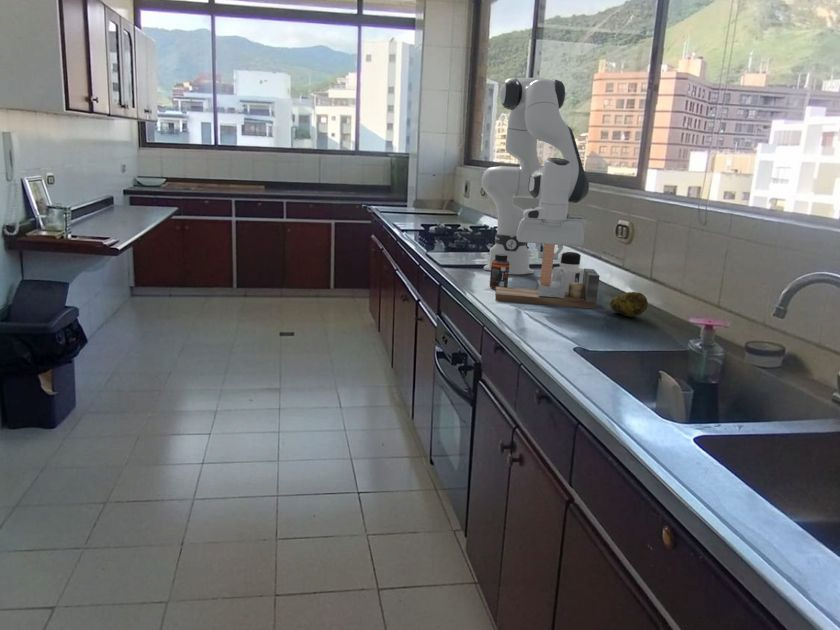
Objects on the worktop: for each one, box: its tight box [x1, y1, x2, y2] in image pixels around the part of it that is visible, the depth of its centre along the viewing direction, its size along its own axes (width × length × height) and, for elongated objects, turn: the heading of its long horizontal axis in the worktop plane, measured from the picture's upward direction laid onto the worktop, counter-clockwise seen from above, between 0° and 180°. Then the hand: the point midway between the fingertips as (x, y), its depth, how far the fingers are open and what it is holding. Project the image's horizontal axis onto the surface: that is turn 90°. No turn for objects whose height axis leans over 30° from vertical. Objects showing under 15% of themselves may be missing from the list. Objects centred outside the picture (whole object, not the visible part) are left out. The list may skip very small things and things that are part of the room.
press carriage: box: [536, 244, 567, 299], centre depth 207 cm, size 12×8×17 cm, turn 174°
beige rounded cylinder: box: [568, 282, 584, 298], centre depth 208 cm, size 4×4×4 cm
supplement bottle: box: [489, 254, 510, 290], centre depth 223 cm, size 6×6×11 cm
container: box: [551, 251, 585, 292], centre depth 226 cm, size 8×8×13 cm
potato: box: [609, 291, 649, 318], centre depth 193 cm, size 8×13×8 cm, turn 179°
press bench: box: [494, 268, 600, 310], centre depth 208 cm, size 12×30×10 cm, turn 84°
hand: (547, 258), depth 207 cm, fingers closed on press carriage, 3 cm apart
